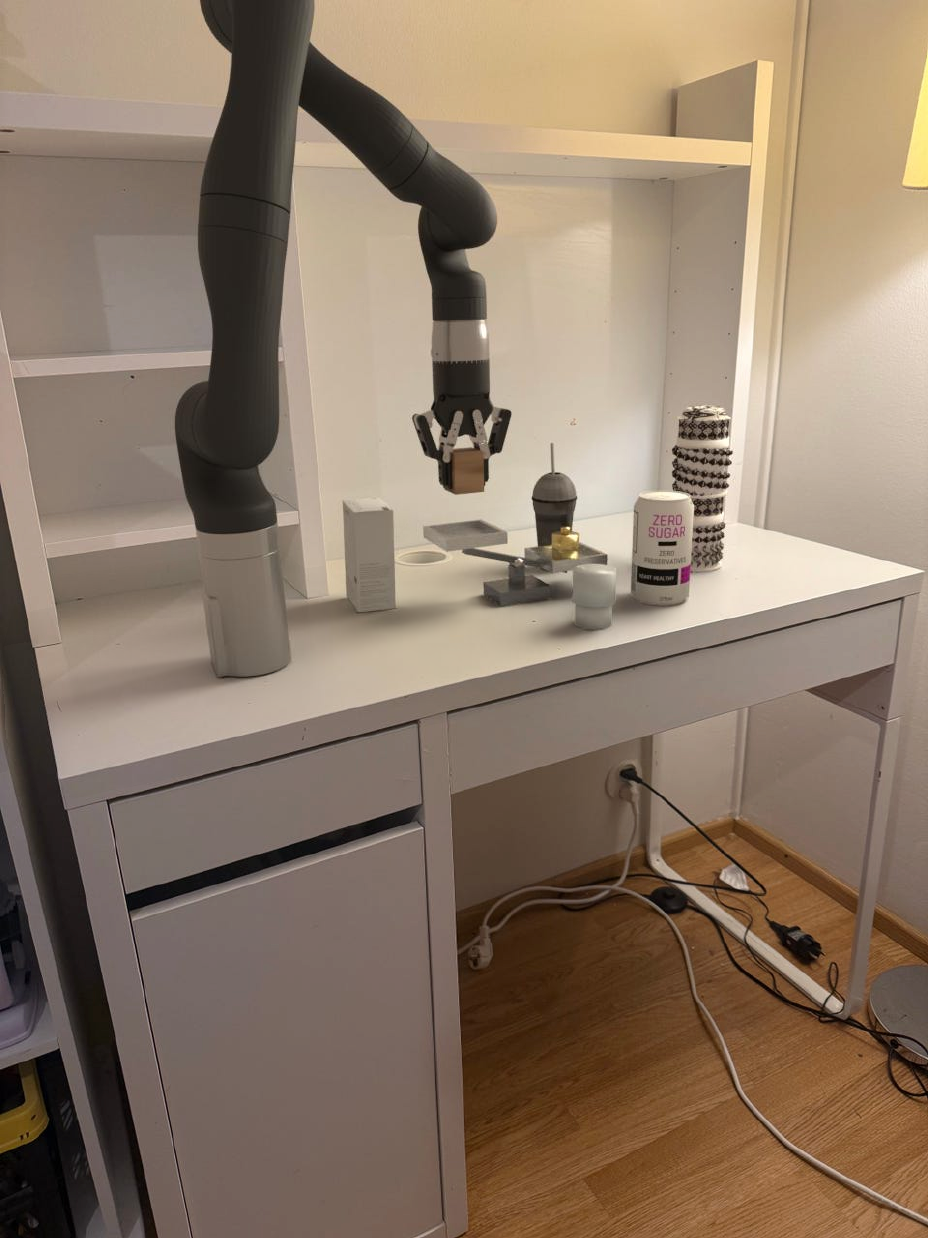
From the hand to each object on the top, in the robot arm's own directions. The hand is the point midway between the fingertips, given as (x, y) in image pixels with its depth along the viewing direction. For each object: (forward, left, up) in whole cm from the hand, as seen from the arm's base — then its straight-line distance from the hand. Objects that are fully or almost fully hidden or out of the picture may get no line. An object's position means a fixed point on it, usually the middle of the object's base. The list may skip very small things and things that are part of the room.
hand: (464, 486), depth 120 cm
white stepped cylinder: (+12, -15, -17) cm, 26 cm away
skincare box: (-12, +7, -17) cm, 22 cm away
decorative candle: (+41, +2, -17) cm, 44 cm away
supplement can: (+26, -10, -17) cm, 33 cm away
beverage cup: (+20, +11, -17) cm, 29 cm away
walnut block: (0, 0, -1) cm, 1 cm away
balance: (+8, 0, -17) cm, 19 cm away
